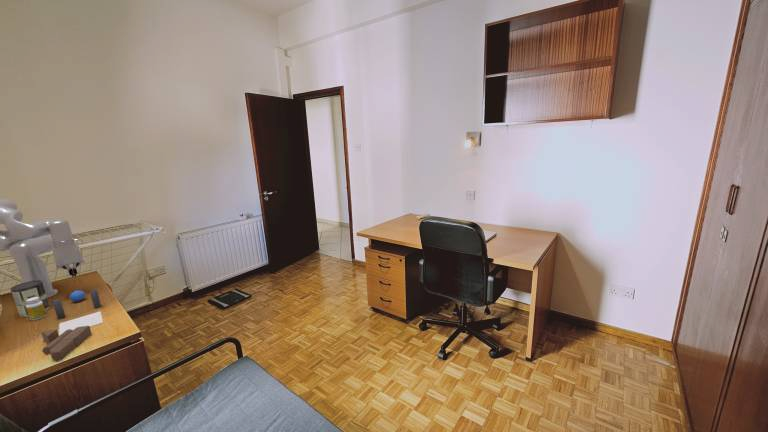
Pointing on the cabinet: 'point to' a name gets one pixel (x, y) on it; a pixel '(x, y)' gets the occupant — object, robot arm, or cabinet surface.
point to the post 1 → (58, 308)
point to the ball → (77, 296)
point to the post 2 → (95, 298)
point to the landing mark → (81, 322)
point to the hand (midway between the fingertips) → (74, 275)
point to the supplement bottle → (35, 308)
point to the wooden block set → (64, 341)
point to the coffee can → (29, 295)
